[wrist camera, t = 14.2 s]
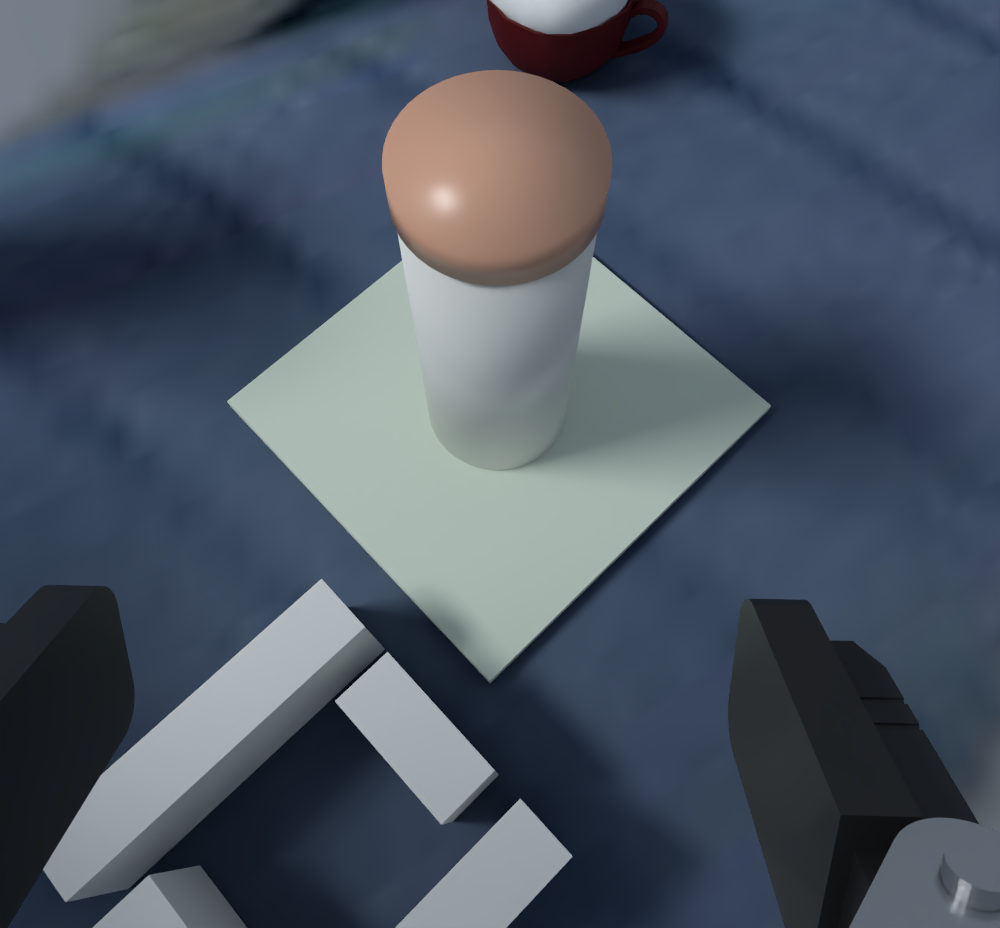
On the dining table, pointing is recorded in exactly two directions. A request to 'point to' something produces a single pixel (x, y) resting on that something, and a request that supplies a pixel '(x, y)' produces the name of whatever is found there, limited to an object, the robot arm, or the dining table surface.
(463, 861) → the frame
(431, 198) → the mushroom
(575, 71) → the cocoa
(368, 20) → the dining table surface
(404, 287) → the pad
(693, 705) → the dining table surface
